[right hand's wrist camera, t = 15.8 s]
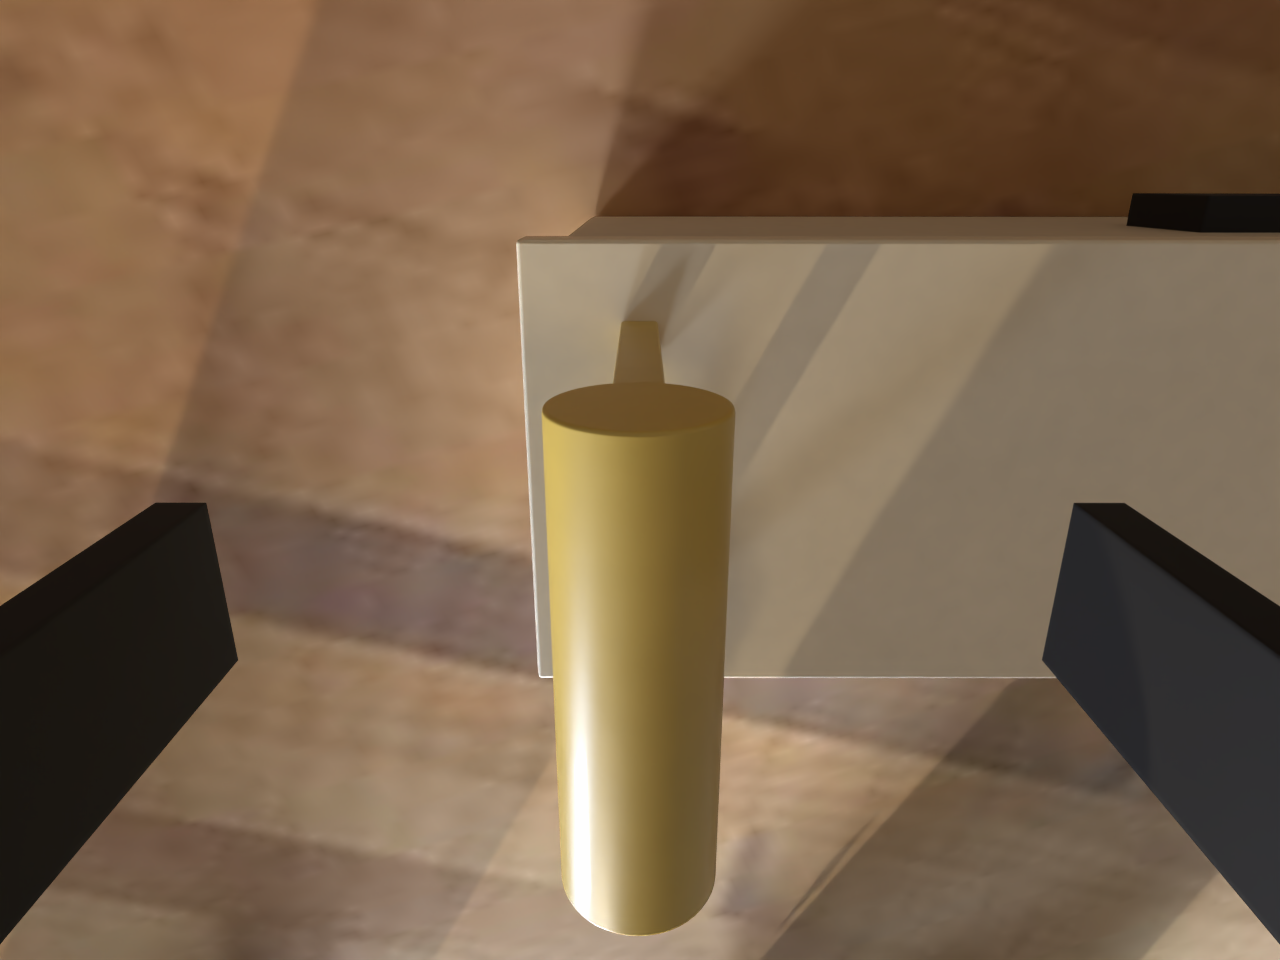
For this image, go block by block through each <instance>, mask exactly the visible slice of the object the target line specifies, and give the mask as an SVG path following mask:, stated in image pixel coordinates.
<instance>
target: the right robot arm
mask: <svg viewBox="0 0 1280 960" xmlns="http://www.w3.org/2000/svg"><path fill="white" fill-rule="evenodd" d="M237 661H238V657H237V652H236V647H235V642H234V637H233V632H232V628H231V623H230V618H229V613H228V608H227V603H226V598H225V593H224V588H223V583H222V578H221V573H220V568H219V563H218V558H217V554H216V549H215V544H214V539H213V534H212V529H211V524H210V519H209V514H208V509H207V504H206V503H154V504H153V505H151V506H150V507H148V508H147V509H145V510H144V511H142V512H141V513H139V514H138V515H136V516H135V517H133V518H132V519H130V520H129V521H127V522H126V523H124V524H123V525H121V526H120V527H118V528H117V529H115V530H114V531H112V532H111V533H109V534H108V535H106V536H105V537H103V538H102V539H100V540H99V541H97V542H96V543H94V544H93V545H91V546H90V547H88V548H87V549H85V550H84V551H82V552H81V553H79V554H78V555H76V556H75V557H73V558H72V559H70V560H69V561H67V562H66V563H64V564H63V565H61V566H60V567H58V568H57V569H55V570H54V571H52V572H51V573H49V574H48V575H46V576H45V577H43V578H42V579H40V580H39V581H37V582H36V583H34V584H33V585H31V586H30V587H28V588H27V589H25V590H24V591H22V592H21V593H19V594H18V595H16V596H15V597H13V598H12V599H10V600H9V601H7V602H6V603H4V604H3V605H1V606H0V944H1V943H2V941H3V940H4V939H5V938H6V937H7V935H8V934H9V933H10V932H11V931H12V929H13V928H14V927H15V926H16V925H17V923H18V922H19V921H20V920H21V919H22V917H23V916H24V915H25V914H26V913H27V912H28V910H29V909H30V908H31V907H32V906H33V904H34V903H35V902H36V901H37V900H38V898H39V897H40V896H41V895H42V894H43V892H44V891H45V890H46V889H47V888H48V886H49V885H50V884H51V883H52V882H53V880H54V879H55V878H56V877H57V876H58V875H59V873H60V872H61V871H62V870H63V869H64V867H65V866H66V865H67V864H68V863H69V861H70V860H71V859H72V858H73V857H74V855H75V854H76V853H77V852H78V851H79V849H80V848H81V847H82V846H83V845H84V843H85V842H86V841H87V840H88V839H89V838H90V836H91V835H92V834H93V833H94V832H95V830H96V829H97V828H98V827H99V826H100V824H101V823H102V822H103V821H104V820H105V818H106V817H107V816H108V815H109V814H110V812H111V811H112V810H113V809H114V808H115V806H116V805H117V804H118V803H119V802H120V800H121V799H122V798H123V797H124V796H125V795H126V793H127V792H128V791H129V790H130V789H131V787H132V786H133V785H134V784H135V783H136V781H137V780H138V779H139V778H140V777H141V775H142V774H143V773H144V772H145V771H146V769H147V768H148V767H149V766H150V765H151V763H152V762H153V761H154V760H155V759H156V758H157V756H158V755H159V754H160V753H161V752H162V750H163V749H164V748H165V747H166V746H167V744H168V743H169V742H170V741H171V740H172V738H173V737H174V736H175V735H176V734H177V732H178V731H179V730H180V729H181V728H182V726H183V725H184V724H185V723H186V722H187V720H188V719H189V718H190V717H191V716H192V715H193V713H194V712H195V711H196V710H197V709H198V707H199V706H200V705H201V704H202V703H203V701H204V700H205V699H206V698H207V697H208V695H209V694H210V693H211V692H212V691H213V689H214V688H215V687H216V686H217V685H218V683H219V682H220V681H221V680H222V679H223V678H224V676H225V675H226V674H227V673H228V672H229V670H230V669H231V668H232V667H233V666H234V664H235V663H236V662H237ZM1042 661H1043V662H1044V663H1045V664H1046V666H1047V667H1048V668H1049V669H1050V670H1051V672H1052V673H1053V674H1054V675H1055V676H1056V678H1057V679H1058V680H1059V681H1060V682H1061V684H1062V685H1063V686H1064V687H1065V688H1066V689H1067V691H1068V692H1069V693H1070V694H1071V695H1072V697H1073V698H1074V699H1075V700H1076V701H1077V703H1078V704H1079V705H1080V706H1081V707H1082V709H1083V710H1084V711H1085V712H1086V713H1087V715H1088V716H1089V717H1090V718H1091V719H1092V721H1093V722H1094V723H1095V724H1096V725H1097V727H1098V728H1099V729H1100V730H1101V731H1102V732H1103V734H1104V735H1105V736H1106V737H1107V738H1108V740H1109V741H1110V742H1111V743H1112V744H1113V746H1114V747H1115V748H1116V749H1117V750H1118V752H1119V753H1120V754H1121V755H1122V756H1123V758H1124V759H1125V760H1126V761H1127V762H1128V764H1129V765H1130V766H1131V767H1132V768H1133V769H1134V771H1135V772H1136V773H1137V774H1138V775H1139V777H1140V778H1141V779H1142V780H1143V781H1144V783H1145V784H1146V785H1147V786H1148V787H1149V789H1150V790H1151V791H1152V792H1153V793H1154V795H1155V796H1156V797H1157V798H1158V799H1159V801H1160V802H1161V803H1162V804H1163V805H1164V807H1165V808H1166V809H1167V810H1168V811H1169V812H1170V814H1171V815H1172V816H1173V817H1174V818H1175V820H1176V821H1177V822H1178V823H1179V824H1180V826H1181V827H1182V828H1183V829H1184V830H1185V832H1186V833H1187V834H1188V835H1189V836H1190V838H1191V839H1192V840H1193V841H1194V842H1195V844H1196V845H1197V846H1198V847H1199V848H1200V849H1201V851H1202V852H1203V853H1204V854H1205V855H1206V857H1207V858H1208V859H1209V860H1210V861H1211V863H1212V864H1213V865H1214V866H1215V867H1216V869H1217V870H1218V871H1219V872H1220V873H1221V875H1222V876H1223V877H1224V878H1225V879H1226V881H1227V882H1228V883H1229V884H1230V885H1231V886H1232V888H1233V889H1234V890H1235V891H1236V892H1237V894H1238V895H1239V896H1240V897H1241V898H1242V900H1243V901H1244V902H1245V903H1246V904H1247V906H1248V907H1249V908H1250V909H1251V910H1252V912H1253V913H1254V914H1255V915H1256V916H1257V918H1258V919H1259V920H1260V921H1261V922H1262V924H1263V925H1264V926H1265V927H1266V928H1267V929H1268V931H1269V932H1270V933H1271V934H1272V935H1273V937H1274V938H1275V939H1276V940H1277V941H1278V943H1279V944H1280V606H1279V605H1277V604H1276V603H1274V602H1273V601H1271V600H1270V599H1268V598H1267V597H1265V596H1264V595H1262V594H1261V593H1259V592H1258V591H1256V590H1255V589H1253V588H1252V587H1250V586H1249V585H1247V584H1246V583H1244V582H1243V581H1241V580H1240V579H1238V578H1237V577H1235V576H1234V575H1232V574H1231V573H1229V572H1228V571H1226V570H1225V569H1223V568H1222V567H1220V566H1219V565H1217V564H1216V563H1214V562H1213V561H1211V560H1210V559H1208V558H1207V557H1205V556H1204V555H1202V554H1201V553H1199V552H1198V551H1196V550H1195V549H1193V548H1192V547H1190V546H1189V545H1187V544H1186V543H1184V542H1183V541H1181V540H1180V539H1178V538H1177V537H1175V536H1174V535H1172V534H1171V533H1169V532H1168V531H1166V530H1165V529H1163V528H1162V527H1160V526H1159V525H1157V524H1156V523H1154V522H1153V521H1151V520H1150V519H1148V518H1147V517H1145V516H1144V515H1142V514H1141V513H1139V512H1138V511H1136V510H1135V509H1133V508H1132V507H1130V506H1129V505H1127V504H1126V503H1074V504H1073V509H1072V514H1071V519H1070V524H1069V529H1068V534H1067V539H1066V544H1065V548H1064V553H1063V558H1062V563H1061V568H1060V573H1059V578H1058V583H1057V588H1056V593H1055V598H1054V603H1053V608H1052V613H1051V617H1050V622H1049V627H1048V632H1047V637H1046V642H1045V647H1044V652H1043V657H1042Z"/></svg>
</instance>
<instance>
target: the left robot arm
mask: <svg viewBox="0 0 1280 960" xmlns="http://www.w3.org/2000/svg"><path fill="white" fill-rule="evenodd" d="M1126 226H1135V227H1145V228H1156V229H1167V230H1177V231H1188V232H1199V233H1280V194H1166V193H1133V195H1132V200H1131V205H1130V210H1129V215H1128V220H1127V225H1126Z"/></svg>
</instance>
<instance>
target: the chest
mask: <svg viewBox="0 0 1280 960" xmlns="http://www.w3.org/2000/svg"><path fill="white" fill-rule="evenodd" d="M1127 220H1128V217H593V218H591V219H590V220H588V221H587V222H586V223H585V224H583V225H582V226H581V227H579V228H578V229H577V230H576V231H574V232H573V233H572V234H571V235H569V236H749V237H1280V233H1199V232H1188V231H1177V230H1167V229H1156V228H1145V227H1135V226H1126V225H1127Z"/></svg>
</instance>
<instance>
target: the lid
mask: <svg viewBox="0 0 1280 960" xmlns="http://www.w3.org/2000/svg"><path fill="white" fill-rule="evenodd" d="M516 248H517V267H518V287H519V307H520V326H521V346H522V365H523V385H524V405H525V424H526V444H527V464H528V483H529V503H530V523H531V542H532V562H533V581H534V601H535V621H536V640H537V660H538V674H539V676H540V677H542V678H553V687H554V710H555V733H556V756H557V779H558V802H559V825H560V848H561V871H562V882H563V886H564V889H565V892H566V894H567V897H568V899H569V900H570V902H571V903H572V905H573V906H574V907H575V909H576V910H577V911H578V912H579V913H580V914H581V915H582V916H583V917H584V918H586V919H587V920H588V921H589V922H591V923H593V924H594V925H596V926H598V927H600V928H602V929H605V930H607V931H610V932H613V933H617V934H622V935H628V936H649V935H655V934H660V933H664V932H667V931H670V930H672V929H675V928H677V927H679V926H681V925H683V924H684V923H686V922H688V921H689V920H690V919H691V918H693V917H694V916H695V915H696V914H697V913H698V912H699V911H700V910H701V909H702V907H703V906H704V905H705V903H706V902H707V900H708V898H709V896H710V894H711V892H712V889H713V886H714V882H715V872H716V849H717V826H718V803H719V780H720V757H721V734H722V711H723V688H724V678H1056V676H1055V675H1054V674H1053V673H1052V672H1051V670H1050V669H1049V668H1048V667H1047V666H1046V664H1045V663H1044V662H1043V661H1042V657H1043V652H1044V647H1045V642H1046V637H1047V632H1048V627H1049V622H1050V617H1051V613H1052V608H1053V603H1054V598H1055V593H1056V588H1057V583H1058V578H1059V573H1060V568H1061V563H1062V558H1063V553H1064V548H1065V544H1066V539H1067V534H1068V529H1069V524H1070V519H1071V514H1072V509H1073V504H1074V503H1126V504H1127V505H1129V506H1130V507H1132V508H1133V509H1135V510H1136V511H1138V512H1139V513H1141V514H1142V515H1144V516H1145V517H1147V518H1148V519H1150V520H1151V521H1153V522H1154V523H1156V524H1157V525H1159V526H1160V527H1162V528H1163V529H1165V530H1166V531H1168V532H1169V533H1171V534H1172V535H1174V536H1175V537H1177V538H1178V539H1180V540H1181V541H1183V542H1184V543H1186V544H1187V545H1189V546H1190V547H1192V548H1193V549H1195V550H1196V551H1198V552H1199V553H1201V554H1202V555H1204V556H1205V557H1207V558H1208V559H1210V560H1211V561H1213V562H1214V563H1216V564H1217V565H1219V566H1220V567H1222V568H1223V569H1225V570H1226V571H1228V572H1229V573H1231V574H1232V575H1234V576H1235V577H1237V578H1238V579H1240V580H1241V581H1243V582H1244V583H1246V584H1247V585H1249V586H1250V587H1252V588H1253V589H1255V590H1256V591H1258V592H1259V593H1261V594H1262V595H1264V596H1265V597H1267V598H1268V599H1270V600H1271V601H1273V602H1274V603H1276V604H1277V605H1279V606H1280V237H749V236H526V237H523V238H521V239H519V240H517V243H516Z"/></svg>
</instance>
